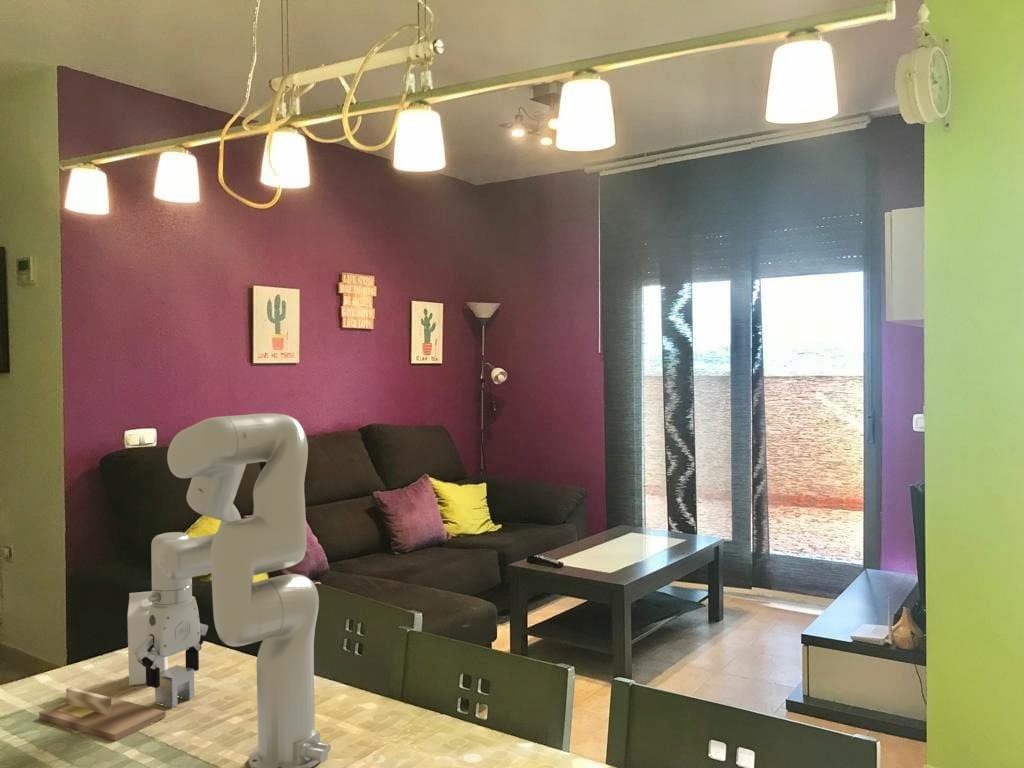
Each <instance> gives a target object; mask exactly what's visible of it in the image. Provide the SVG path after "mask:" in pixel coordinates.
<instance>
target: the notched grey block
mask: <svg viewBox="0 0 1024 768" xmlns="http://www.w3.org/2000/svg"><path fill="white" fill-rule="evenodd" d="M177 696H179V697H182V698H181V699H183V698H186V699H185V700H187V699H191V700H193V699H195V671H194V669H191V668H187V667H186V666H182V665H177V664H176V665H174V666H171V667H168V669H166V670H164V671H161V672H160V686H159V687H158V688H154V697H155V698H154V701H155V702H154V703H159V704H163V705H166V706H165V707H167V706H170V707H169V708H171V707H174V706H176V707H178V706H179V705H178V704H179V702H178V699H179V697H177ZM192 698H193V699H192ZM159 704H158V705H159ZM163 705H162V706H163ZM177 705H178V706H177ZM174 708H175V707H174Z"/></svg>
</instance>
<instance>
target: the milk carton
mask: <svg viewBox="0 0 1024 768" xmlns="http://www.w3.org/2000/svg"><path fill="white" fill-rule="evenodd" d="M151 595H152V590H151V591H140V592H130V593H129V594H128V596H129V597H128V598H129V600H128V607H127V617H126V618H127V652H128V653H127V654H128V658H127V659H128V684H129V686H139V685H146V684H145V683H146V667H143V665H142V664H141V663H139V662H138V659H137V657H136V656H135V654H134V650H135V649H136V648H137V647H138V646H139V645H140V644H141V643H142V642H143V641H144V640H145V639H146V631H147V620H148V613H149V608H150V605H151V604H152V602H149V600H148V597H149V596H151ZM145 654H146V656H147V654H148V652H147V650H146V652H145ZM154 658H155V655H154V657H153V658H152V661H153V659H154ZM157 667H159V668H160V672H161V671H164V670H166V669H168V668H169V656H167V657H162V658H161V660H160V662H159V663H158V665H157Z"/></svg>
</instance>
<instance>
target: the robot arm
mask: <svg viewBox="0 0 1024 768" xmlns="http://www.w3.org/2000/svg"><path fill="white" fill-rule="evenodd" d="M307 438H308V437H307V435H306V432H305V430H304V428H303V426H302V425H301V423H300V422H299V421H298V420H297V419H295V418H294V417H293V416H290V415H287V414H283V413H266V412H265V413H253V414H252V413H249V414H241V415H238V414H237V415H227V416H226V415H225V416H223V415H222V416H214V417H209V418H206V419H203V420H201V421H198V422H197V423H195V424H193V425H191V426H189V427H186V428H185V429H182V430H181V431H179V432H178V433H177V434H176V435H175V436H174V437H173V438H172V440H171V442H170V444H169V446H168V448H167V449H168V450H167V457H166V458H167V465H168V468H169V471H170V472H171V473H172V475H174V476H175V477H177V478H179V479H191V480H190V483H189V486H188V489H187V493H186V502H187V504H188V505H189V507H190V508H191V509H192V510H193V511H194V512H196V513H198V514H199V515H202V516H204V517H208V518H211V519H215V520H218V521H220V523H219V525H218V528H217V531H216V532H215V533H214V534H207V535H201V536H195V537H191V536H190V535H189V534H187V533H185V532H181V531H177V532H175V531H173V532H164V533H161V534H157V535H155V536H154V537H153V539H152V541H151V545H150V546H151V548H150V549H151V555H150V556H151V559H150V560H151V591H152V595H151V596H149V597H148V600H149V602H152V604H151V605H150V608H149V613H148V620H147V631H146V639H145V640H144V641H143V642H142V643H141V644H140V645H139V646H138V647H137V648H136V649H135V650H134V654H135V656H136V657H137V659H138V662H139V663H141V664H142V665H143V667H146V684H145V685H146V686H147V687H150V688H154V689H155V688H158V687H159V686H160V668H159V667H157V665H158V663H159V662H160V660H161V658H162V657H167V656H168V657H170V656H172V655H175V654H178V653H180V652H181V653H182V651H185V667H187V668H191V669H194V672H198V671H199V669H200V663H199V662H200V657H199V656H200V653H199V652H200V651H201V650H202V645H203V643H204V641H205V640H206V635H207V632H208V629H209V625H208V624H205V623H201V622H200V621H201V620H200V615H199V608H198V604H197V600H196V596H193V578H196V577H199V576H203V575H208V574H210V575H211V589H212V590H211V591H212V592H211V594H212V595H211V596H212V611H213V612H212V613H213V614H212V615H213V620H214V621H213V622H214V627H215V630H216V632H217V636H218V638H219V639H220V640H221V642H222V643H223V644H225V645H227V646H230V647H242V646H246V645H251V644H255V643H257V642H261V641H262V642H261V643H260V646H259V649H258V652H257V655H256V656H257V657H256V664H255V665H256V704H257V705H256V706H257V708H256V709H257V712H256V713H257V716H256V717H257V746H256V747H255V748H254V749H252V750H251V752H250V753H249V756H248V765H249V766H248V767H250V768H313V767H315V766H316V765H318V764H319V763H322V764H323V763H324V762H326V761H327V759H328V755H329V753H330V751H331V749H332V746H331V745H332V744H330V743H326V742H322V741H321V736H320V735H321V733H320V732H321V731H319V730H316V723H315V722H316V719H315V717H316V716H315V713H316V712H315V664H314V663H315V659H314V658H315V656H314V655H315V653H314V650H315V647H314V645H315V632H316V623H317V619H318V614H319V606H320V600H319V599H320V597H319V592H318V589H317V587H316V585H315V582H313V581H312V580H311V579H310V578H308V577H307V576H305V575H303V574H299V573H290V574H289V573H287V574H283V575H277V576H274V577H269V578H264V579H261V580H258V581H254V582H253V580H254V576H257V575H262V574H265V573H271V572H275V571H279V570H282V569H287V568H290V567H293V566H296V565H298V564H299V563H300V562H302V560H304V558H305V556H306V552H307V545H308V544H307V543H308V541H307V539H308V538H307V517H306V516H307V515H306V499H305V480H306V479H305V478H306V472H307V471H306V470H307V464H308V458H309V455H308V454H309V444H308V439H307ZM262 462H263V463H264V462H265V463H266V464H265V465H264V467H263V468H262V469H261V471H260V472H259V474H258V476H257V478H256V481H255V483H254V485H253V490H252V499H253V512H252V516H251V517H247V518H242V517H241V513H240V512H239V510H238V509H237V507H236V505H235V504H234V501H235V498H236V496H237V492H238V490H239V487H240V484H241V482H242V481H241V480H242V478H243V476H244V472H245V470H246V466H247V464H253V463H254V464H255V463H262ZM146 650H147V652H148V654H147V656H146V654H145V652H146ZM154 655H155V658H154V659H153V661H152V658H153V657H154Z"/></svg>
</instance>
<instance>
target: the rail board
mask: <svg viewBox="0 0 1024 768" xmlns="http://www.w3.org/2000/svg"><path fill="white" fill-rule="evenodd" d="M65 692H66V694H65V695H66V697H65V698H66V700H65V702H62V703H60V704H57V705H55V706H52V707H50V708H46V709H44V710H42V711H40V712H38V716H39V717H38V718H39V720H42V721H47V722H49V723H53V724H57V725H59V726H62V727H66V728H69V727H70V729H72V728H73V730H76V729H77V730H76V731H79V730H81V731H80V732H82V733H86V732H87V734H89V733H90V735H93V736H96V735H97V737H99V736H101V737H100V738H103V737H104V738H103V739H106V738H108V739H107V740H110V739H111V741H113V740H114V742H116V740H117V741H118V739H119V740H121V739H123V738H125V737H127V735H128V736H129V734H130V735H132V734H134V733H136V732H138V731H140V730H142V729H144V728H143V727H145V726H147V725H149V724H151V723H153V722H155V721H157V720H159V719H162V718H164V717H166V716H167V713H166V712H167V711H166V710H161V709H157V708H154V707H151V706H147V705H142V704H138V703H134V702H132V701H126V700H123V699H120V698H116V697H112V696H109V695H108V696H107V695H104V694H100V693H97V692H92V691H88V690H83V689H80V688H76V687H73V686H70V687H67V688H66V689H65ZM164 719H165V718H164ZM162 720H163V719H162ZM159 721H160V720H159ZM157 722H158V721H157ZM155 723H156V722H155ZM153 724H154V723H153ZM151 725H152V724H151ZM149 726H150V725H149ZM147 727H148V726H147ZM141 728H142V729H141ZM145 728H146V727H145ZM137 730H138V731H137ZM133 732H134V733H133ZM131 733H132V734H131ZM122 737H123V738H122Z"/></svg>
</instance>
